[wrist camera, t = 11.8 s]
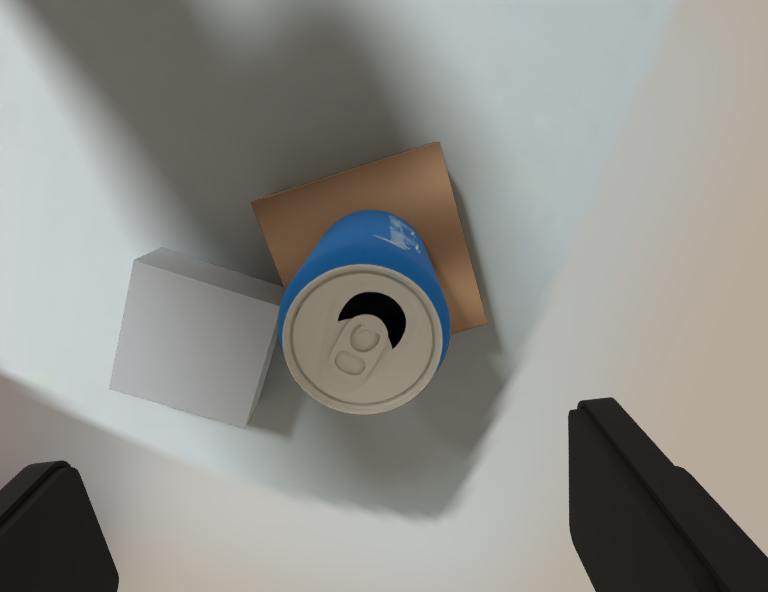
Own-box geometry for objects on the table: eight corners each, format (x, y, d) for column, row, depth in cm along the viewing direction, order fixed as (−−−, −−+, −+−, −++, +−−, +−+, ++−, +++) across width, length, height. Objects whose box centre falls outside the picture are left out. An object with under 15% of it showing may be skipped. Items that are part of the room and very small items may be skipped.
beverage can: (448, 241, 28) (490, 308, 16) (394, 333, 30) (398, 452, 18) (348, 187, 27) (319, 217, 16) (298, 285, 29) (239, 377, 17)
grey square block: (163, 246, 32) (133, 260, 29) (292, 288, 33) (280, 306, 30) (139, 362, 35) (109, 389, 31) (260, 398, 36) (244, 428, 32)
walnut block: (267, 195, 31) (251, 202, 27) (432, 142, 30) (439, 142, 26) (324, 346, 34) (316, 372, 30) (475, 303, 33) (487, 323, 29)
